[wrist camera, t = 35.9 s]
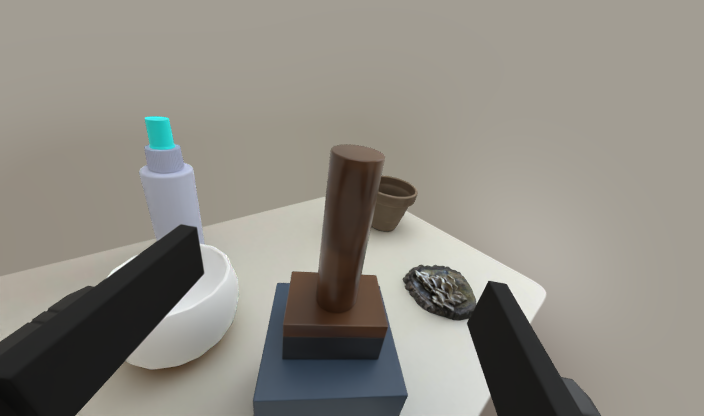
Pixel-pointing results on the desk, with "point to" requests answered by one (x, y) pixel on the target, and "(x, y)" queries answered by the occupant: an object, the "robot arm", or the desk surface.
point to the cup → (192, 316)
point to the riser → (325, 378)
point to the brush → (340, 270)
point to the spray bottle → (168, 182)
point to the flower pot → (392, 202)
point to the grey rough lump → (441, 291)
